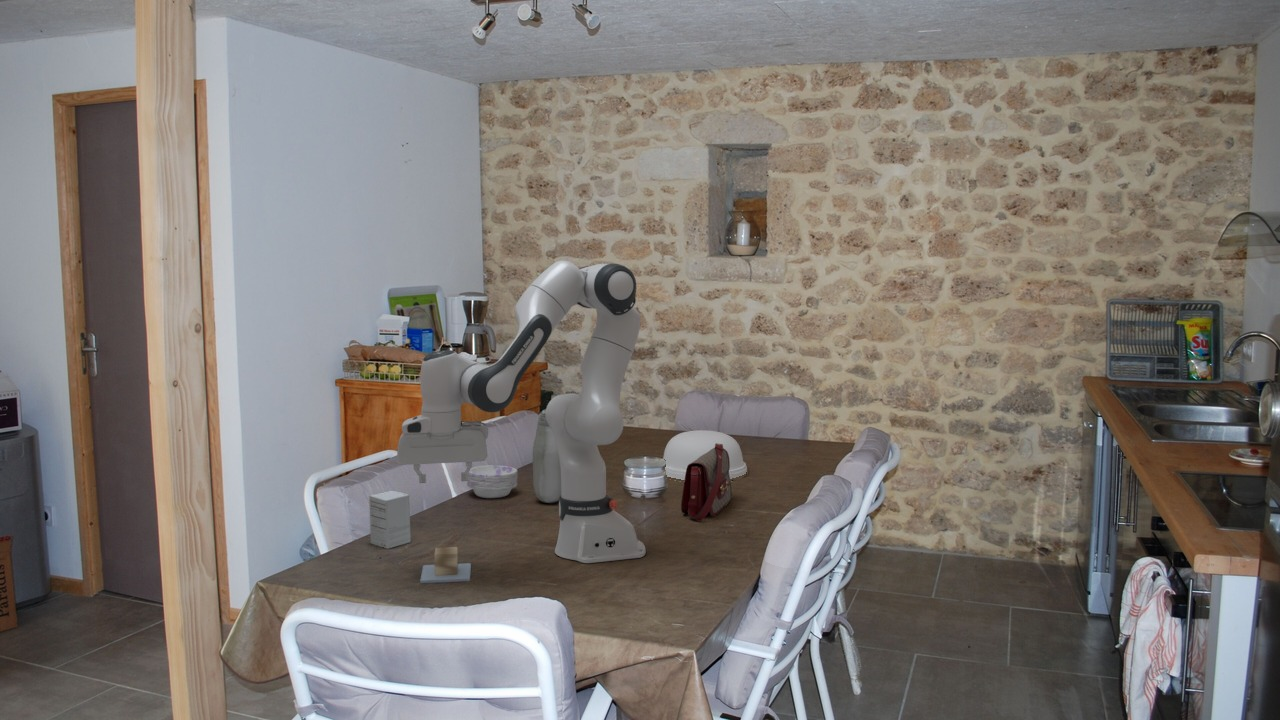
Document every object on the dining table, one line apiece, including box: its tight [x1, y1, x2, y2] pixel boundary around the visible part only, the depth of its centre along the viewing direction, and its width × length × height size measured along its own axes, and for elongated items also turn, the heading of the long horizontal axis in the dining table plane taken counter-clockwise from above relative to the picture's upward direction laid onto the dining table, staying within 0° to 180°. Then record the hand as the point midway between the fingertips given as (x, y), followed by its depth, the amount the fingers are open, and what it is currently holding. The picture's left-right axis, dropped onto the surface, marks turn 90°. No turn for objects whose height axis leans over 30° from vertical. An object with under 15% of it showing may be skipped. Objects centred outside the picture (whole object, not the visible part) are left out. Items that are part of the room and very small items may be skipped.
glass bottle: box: [532, 408, 561, 504], centre depth 292 cm, size 10×10×28 cm
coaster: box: [419, 562, 472, 584], centre depth 228 cm, size 11×11×1 cm
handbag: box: [680, 443, 732, 521], centre depth 285 cm, size 28×11×17 cm, turn 160°
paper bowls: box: [466, 464, 518, 499], centre depth 301 cm, size 15×15×8 cm
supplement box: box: [368, 490, 411, 550], centre depth 251 cm, size 7×7×13 cm
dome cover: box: [662, 429, 748, 480], centre depth 332 cm, size 32×30×14 cm
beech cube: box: [434, 546, 459, 576], centre depth 227 cm, size 5×5×5 cm
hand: (443, 481), depth 226 cm, fingers open, 8 cm apart
